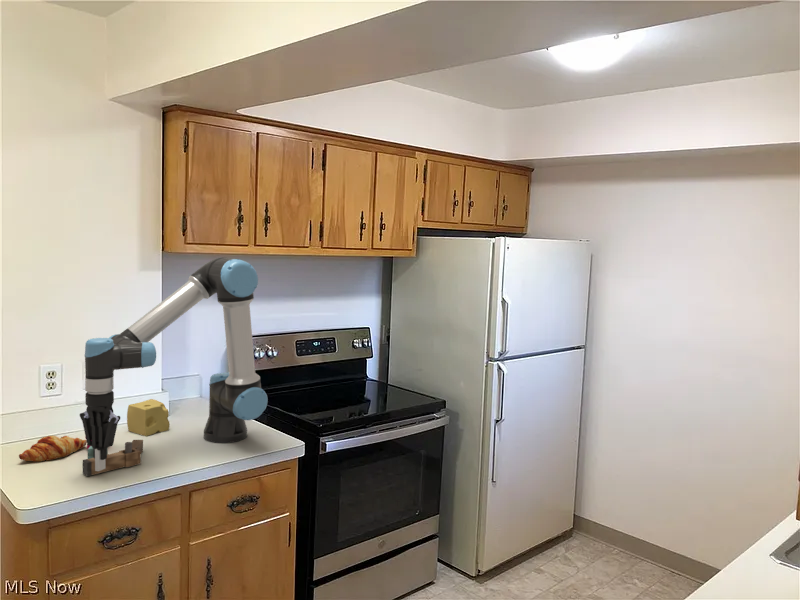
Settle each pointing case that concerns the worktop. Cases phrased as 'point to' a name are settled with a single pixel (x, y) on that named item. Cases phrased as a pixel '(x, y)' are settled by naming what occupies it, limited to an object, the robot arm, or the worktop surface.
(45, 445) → the croissant
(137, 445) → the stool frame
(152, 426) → the cheese
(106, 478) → the worktop surface
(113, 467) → the leg
